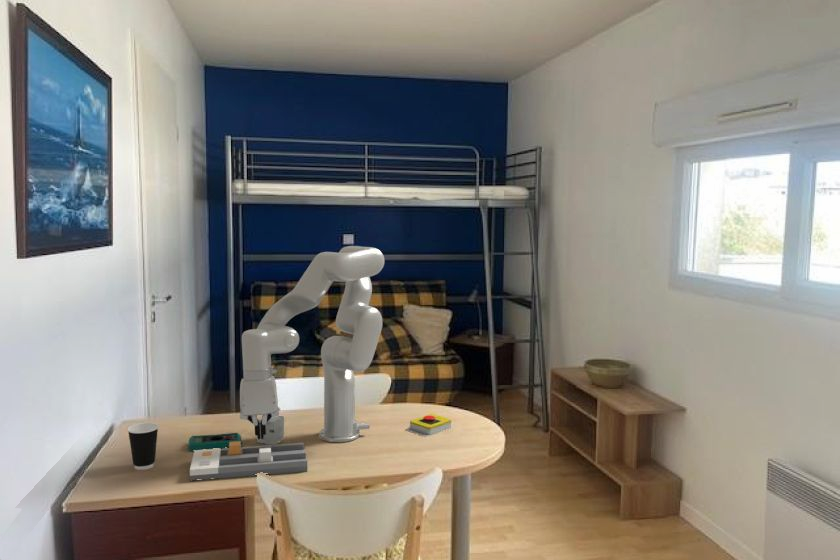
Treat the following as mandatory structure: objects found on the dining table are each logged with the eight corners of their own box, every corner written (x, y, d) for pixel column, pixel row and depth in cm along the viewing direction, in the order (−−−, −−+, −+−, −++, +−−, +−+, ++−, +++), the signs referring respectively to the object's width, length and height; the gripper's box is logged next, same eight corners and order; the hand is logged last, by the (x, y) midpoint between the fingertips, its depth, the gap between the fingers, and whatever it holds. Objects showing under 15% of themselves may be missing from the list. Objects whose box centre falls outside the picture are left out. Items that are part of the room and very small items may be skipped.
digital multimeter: (241, 448, 190) (241, 438, 190) (188, 453, 185) (188, 443, 185) (240, 440, 197) (240, 431, 196) (189, 444, 192) (189, 435, 192)
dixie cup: (166, 464, 176) (165, 425, 175) (141, 474, 169) (140, 434, 168) (146, 458, 180) (145, 420, 178) (121, 468, 173) (120, 428, 172)
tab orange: (242, 453, 180) (242, 440, 180) (242, 458, 176) (242, 445, 176) (227, 454, 179) (227, 441, 178) (227, 459, 175) (227, 446, 175)
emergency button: (405, 418, 207) (436, 408, 218) (405, 431, 207) (435, 421, 218) (426, 425, 200) (457, 414, 211) (426, 438, 201) (456, 427, 212)
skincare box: (256, 443, 193) (256, 419, 193) (267, 436, 199) (267, 413, 198) (274, 445, 191) (274, 421, 191) (284, 438, 197) (284, 415, 196)
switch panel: (303, 452, 186) (303, 441, 186) (307, 471, 172) (307, 459, 172) (194, 461, 178) (194, 449, 178) (190, 481, 165) (189, 469, 165)
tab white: (272, 460, 175) (272, 447, 175) (273, 465, 172) (272, 452, 171) (257, 461, 174) (257, 448, 174) (257, 466, 171) (257, 453, 170)
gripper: (284, 368, 182) (287, 430, 185) (230, 372, 179) (233, 435, 181) (285, 375, 175) (288, 439, 178) (229, 380, 172) (232, 445, 174)
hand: (260, 437), depth 179 cm, fingers closed
